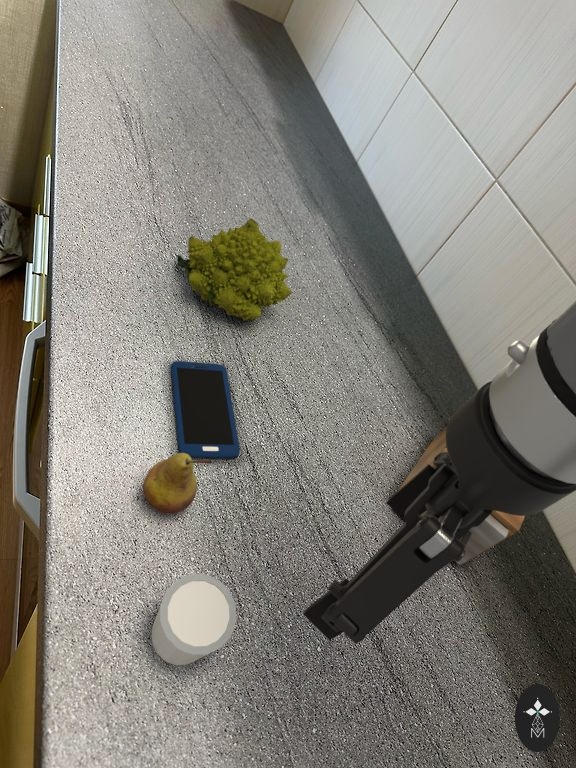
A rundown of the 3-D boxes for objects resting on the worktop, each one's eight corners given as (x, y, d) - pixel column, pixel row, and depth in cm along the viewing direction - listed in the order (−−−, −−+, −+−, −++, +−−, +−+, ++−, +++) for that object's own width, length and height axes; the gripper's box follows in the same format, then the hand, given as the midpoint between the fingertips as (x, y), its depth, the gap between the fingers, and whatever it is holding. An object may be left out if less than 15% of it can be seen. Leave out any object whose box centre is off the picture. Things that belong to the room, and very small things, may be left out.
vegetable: (149, 240, 80) (233, 182, 74) (215, 275, 94) (291, 227, 88) (174, 332, 75) (266, 278, 70) (240, 355, 89) (321, 310, 83)
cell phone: (179, 458, 66) (180, 455, 65) (169, 363, 74) (170, 359, 73) (239, 459, 69) (241, 456, 68) (224, 367, 77) (225, 364, 76)
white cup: (138, 605, 55) (153, 581, 50) (206, 590, 58) (226, 566, 53) (151, 682, 51) (168, 664, 46) (223, 661, 55) (246, 643, 50)
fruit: (186, 473, 65) (215, 416, 57) (192, 520, 62) (224, 468, 53) (136, 474, 63) (158, 415, 54) (140, 523, 60) (164, 469, 51)
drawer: (446, 591, 68) (494, 565, 61) (378, 530, 69) (416, 498, 63) (491, 501, 79) (535, 471, 73) (431, 450, 81) (469, 416, 74)
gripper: (545, 300, 41) (396, 448, 56) (385, 522, 24) (234, 645, 40) (632, 370, 40) (455, 501, 55) (526, 652, 23) (314, 727, 39)
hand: (362, 561), depth 48 cm, fingers open, 13 cm apart
